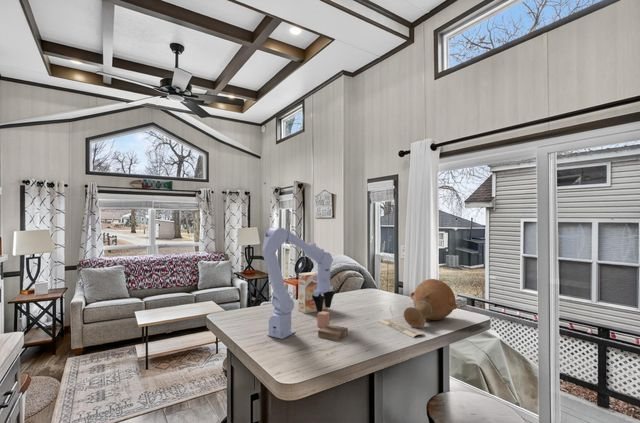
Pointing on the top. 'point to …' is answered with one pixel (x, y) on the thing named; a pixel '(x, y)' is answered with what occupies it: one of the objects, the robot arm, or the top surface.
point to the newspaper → (400, 328)
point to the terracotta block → (323, 319)
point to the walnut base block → (333, 332)
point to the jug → (430, 303)
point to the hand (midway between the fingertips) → (323, 309)
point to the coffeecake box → (307, 292)
